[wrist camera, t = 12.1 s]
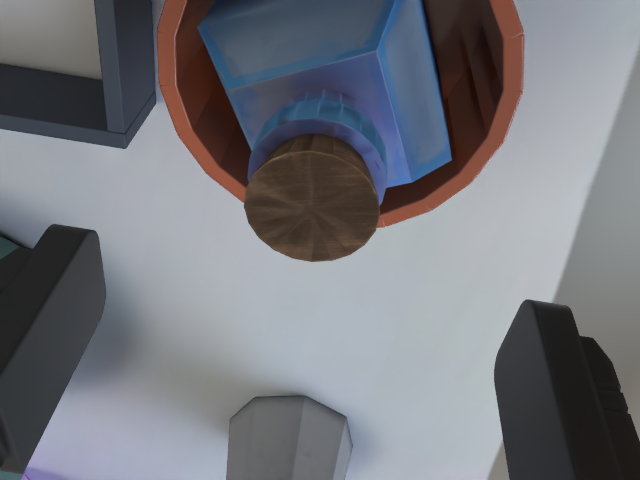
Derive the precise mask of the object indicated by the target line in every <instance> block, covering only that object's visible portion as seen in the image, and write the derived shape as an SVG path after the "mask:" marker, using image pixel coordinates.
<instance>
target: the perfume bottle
mask: <svg viewBox="0 0 640 480" xmlns="http://www.w3.org/2000/svg"><path fill="white" fill-rule="evenodd" d="M197 28H198V30H199V32H200V35H201V37H202V39H203V41H204V44H205V46H206V48H207V50H208V53H209V55H210V57H211V60H212V62H213V64H214V66H215V69H216V71H217V73H218V76H219V78H220V80H221V82H222V85H223V87H224V89H225V92H226V94H227V96H228V98H229V101H230V103H231V105H232V107H233V110H234V112H235V114H236V117H237V119H238V121H239V123H240V126H241V128H242V130H243V133H244V135H245V137H246V139H247V142H248V144H249V146H250V149H251V151H252V153H251V156H250V159H249V168H248V181H249V184H248V186H247V187H246V190H245V200H244V208H245V212H246V215H247V219H248V223H249V224H250V226H251V227H252V229H253V230H254V231H255V233H256V234H257V236H258V237H259V238H260V239H261V240H262V241H263V242H265V243H266V244H267V245H268V246H270V247H271V248H272V249H273V250H275V251H277V252H280V253H282V254H284V255H286V256H289V257H291V258H294V259H300V260H305V261H310V262H316V261H332V260H335V259H338V258H342V257H345V256H348V255H350V254H352V253H353V252H355V251H356V250H358V249H359V248H361V247H362V246H364V245H365V244H366V243H367V241H368V240H369V239H370V237H371V236H372V235H373V234H374V232H375V231H376V228H377V224H378V221H379V217H380V207H379V206H380V204H381V203H382V201H383V197H384V194H385V190H386V188H388V187H392V186H397V185H402V184H407V183H412V182H414V181H415V180H417V179H419V178H421V177H423V176H424V175H426V174H428V173H430V172H431V171H433V170H435V169H437V168H439V167H440V166H442V165H444V164H446V163H448V162H449V161H451V160H452V158H451V151H450V144H449V137H448V129H447V122H446V115H445V108H444V101H443V93H442V86H441V79H440V74H439V69H438V64H437V59H436V55H435V50H434V45H433V40H432V35H431V31H430V26H429V21H428V16H427V11H426V7H425V2H424V0H216V1H215V3H214V4H213V5H212V7H211V8H210V10H209V11H208V13H207V14H206V16H205V17H204V19H203V20H202V21H201V23H200V24H199V26H198V27H197Z"/></svg>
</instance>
